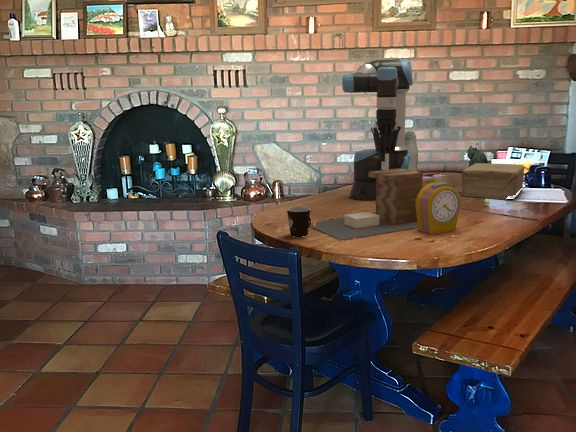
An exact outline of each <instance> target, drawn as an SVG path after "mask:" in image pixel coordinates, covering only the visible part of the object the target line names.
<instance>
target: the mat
mask: <svg viewBox="0 0 576 432" xmlns="http://www.w3.org/2000/svg"><path fill="white" fill-rule="evenodd" d="M373 214H376V212H375V213H373ZM311 222H312V223H311V224H310V226H311V227H313V228H315V229H318V230H320V231H322V232H324V233H327V234H329V235H331V236H333V237H332V238H334V237H336V238H338V239H340V240H339V241H341V240H344V241H346V240H345V239H350V240H354V239H353V238H356V239H361V237H362V238H367V237H373V236H374V237H375V236H379V235H384V234H390V233H397V232H402V231H403V232H404V231H410V230H415V229H418V223H417V222H412V223H406V224H400V225H395V224H392V223H389V222H386V221H384V220H381V219H379V226H373V227H367V228H360V229H354V228H351V227H349V226H346V225H344V217H340V218H333V219H327V220H320V221H316V222H317V223H315V225H316V226H314V225H313V223H314V222H315V221H311ZM311 227H310V228H311ZM313 228H312V229H313ZM315 229H314V230H315ZM318 230H317V231H318ZM320 231H319V232H320ZM322 232H321V233H322ZM324 233H323V234H324ZM327 234H326V235H327ZM329 235H328V236H329ZM331 236H330V237H331ZM336 238H335V239H336ZM338 239H337V240H338Z"/></svg>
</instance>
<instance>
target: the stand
mask: <svg viewBox="0 0 576 432" xmlns="http://www.w3.org/2000/svg"><path fill="white" fill-rule="evenodd" d="M423 175H424V174H423V172H420V171H418V170H417V171H412V170H407V169H401V168H398V169H389V170H379V171H369V172H368V177H372V178H376V199H375V213H376V215H379V219H381V220H384V221H386V222H389V223H392V224H395V225H400V224H406V223H412V222H417V214H416V206H415V203H416V198H417V195H418V194H419V192H420V190H421V189H422V178H423Z"/></svg>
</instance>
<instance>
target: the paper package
mask: <svg viewBox="0 0 576 432" xmlns="http://www.w3.org/2000/svg"><path fill="white" fill-rule="evenodd" d="M524 172H525V165H524V164H515V163H513V164H510V163H475V164H474V165H472V166H470V167H469V166H468V167H467V168H466V167H465V168H464V169H463V170H462V171H461V188H462V190H461V191H462V196H464V197H470V198H481V199H491V200H492V199H493V200H496V199H497V200H504V201H505V199H506V198H507V197H508V196H513V195H516V193H517V192H518V191H519V190H520V189H521V188H522V187H524V186H523V185H524V175H525V173H524ZM522 189H523V188H522Z"/></svg>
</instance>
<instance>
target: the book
mask: <svg viewBox="0 0 576 432" xmlns="http://www.w3.org/2000/svg"><path fill="white" fill-rule="evenodd" d="M343 218H344V225H346V226H349V227H351V228H354V229H360V228H367V227H373V226H379V215H376V214H373V213H372V212H371V211H363V212H362V211H361V212H355V213H350V214H344V217H343Z"/></svg>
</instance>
